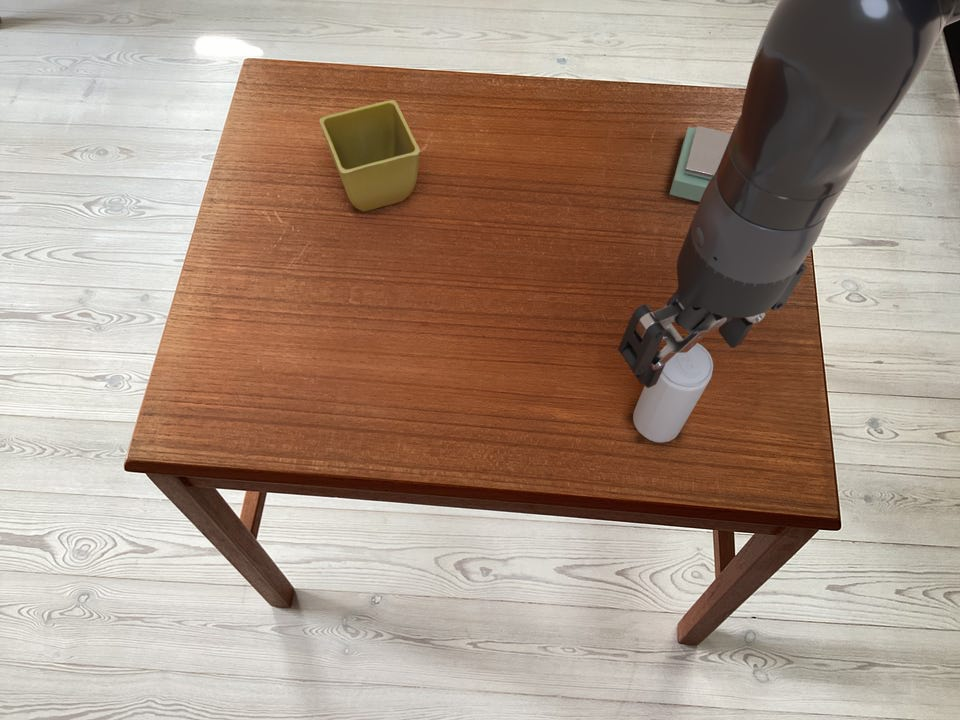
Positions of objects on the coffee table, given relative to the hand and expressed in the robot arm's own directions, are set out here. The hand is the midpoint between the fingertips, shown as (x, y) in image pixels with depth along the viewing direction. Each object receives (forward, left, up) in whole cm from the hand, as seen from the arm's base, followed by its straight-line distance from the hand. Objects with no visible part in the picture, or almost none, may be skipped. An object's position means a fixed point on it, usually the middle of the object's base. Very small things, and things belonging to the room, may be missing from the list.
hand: (687, 357), depth 64 cm
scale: (0, -34, -13) cm, 37 cm away
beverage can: (0, 0, -13) cm, 13 cm away
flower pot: (+37, -19, -13) cm, 44 cm away
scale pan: (0, -34, -10) cm, 36 cm away
